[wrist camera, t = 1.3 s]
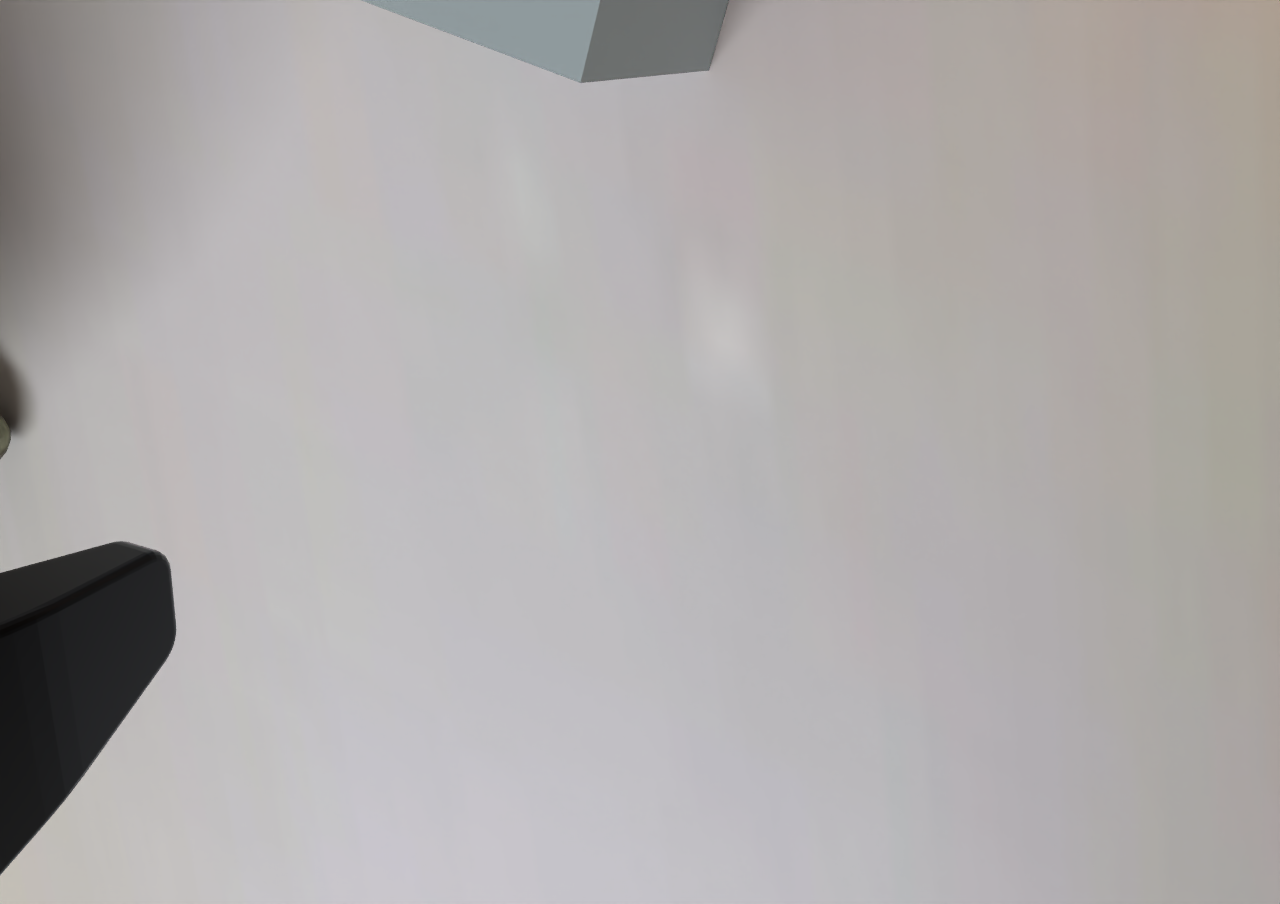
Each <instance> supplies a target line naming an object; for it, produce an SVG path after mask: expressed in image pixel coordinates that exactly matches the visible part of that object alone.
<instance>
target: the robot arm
mask: <svg viewBox="0 0 1280 904" xmlns="http://www.w3.org/2000/svg"><path fill="white" fill-rule="evenodd" d="M175 636H176V619H175V609H174V599H173V588H172V578H171V569H170V564H169V562H168V560H167V558H166V557H165V555H163V554H162V553H160V552H159V551H156V550H153V549H150V548H146V547H143V546H139V545H136V544H133V543H129V542H123V541H120V542H113V543H109V544H105V545H102V546H98V547H94V548H90V549H87V550H83V551H79V552H76V553H72V554H68V555H65V556H61V557H57V558H54V559H50V560H46V561H43V562H39V563H35V564H32V565H28V566H24V567H21V568H17V569H13V570H10V571H6V572H2V573H0V875H1V874H2V872H3V871H4V870H5V869H6V868H7V867H8V866H9V864H10V863H11V862H12V861H13V860H14V859H15V858H16V856H17V855H18V854H19V853H20V852H21V851H22V850H23V848H24V847H25V846H26V845H27V844H28V843H29V842H30V840H31V839H32V838H33V837H34V836H35V835H36V834H37V832H38V831H39V830H40V829H41V828H42V827H43V826H44V824H45V823H46V822H47V821H48V820H49V819H50V817H51V816H52V815H53V814H54V813H55V811H56V810H57V809H58V808H59V807H60V805H61V804H62V803H63V802H64V801H65V799H66V798H67V797H68V795H69V794H70V793H71V791H72V790H73V789H74V788H75V786H76V785H77V784H78V782H79V781H80V780H81V778H82V777H83V776H84V774H85V773H86V772H87V770H88V769H89V767H90V766H91V765H92V763H93V762H94V760H95V759H96V758H97V756H98V755H99V753H100V752H101V751H102V749H103V748H104V746H105V745H106V744H107V742H108V741H109V739H110V738H111V737H112V735H113V734H114V732H115V731H116V730H117V728H118V727H119V725H120V724H121V723H122V721H123V720H124V718H125V717H126V716H127V714H128V713H129V711H130V710H131V709H132V707H133V706H134V704H135V703H136V702H137V700H138V699H139V697H140V696H141V695H142V693H143V692H144V690H145V689H146V688H147V686H148V685H149V683H150V682H151V681H152V679H153V678H154V676H155V675H156V674H157V672H158V671H159V669H160V668H161V667H162V665H163V664H164V662H165V661H166V659H167V658H168V656H169V654H170V652H171V650H172V648H173V645H174V641H175Z"/></svg>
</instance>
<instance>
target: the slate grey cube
mask: <svg viewBox="0 0 1280 904" xmlns="http://www.w3.org/2000/svg"><path fill="white" fill-rule="evenodd" d="M362 1H365V2H367V3H370V4H373V5H375V6H378V7H381V8H383V9H386V10H389V11H391V12H394V13H397V14H399V15H402V16H404V17H407V18H410V19H412V20H415V21H418V22H420V23H423V24H426V25H428V26H431V27H434V28H436V29H439V30H442V31H444V32H447V33H450V34H452V35H455V36H458V37H460V38H463V39H465V40H468V41H471V42H473V43H476V44H479V45H481V46H484V47H487V48H489V49H492V50H495V51H497V52H500V53H503V54H505V55H508V56H511V57H513V58H516V59H519V60H521V61H524V62H526V63H529V64H532V65H534V66H537V67H540V68H542V69H545V70H548V71H550V72H553V73H556V74H558V75H561V76H564V77H566V78H569V79H572V80H574V81H577V82H580V83H584V82H594V81H605V80H615V79H625V78H635V77H646V76H656V75H666V74H677V73H687V72H697V71H707V70H709V68H710V64H711V61H712V57H713V54H714V50H715V47H716V43H717V40H718V36H719V33H720V29H721V26H722V22H723V19H724V15H725V12H726V8H727V5H728V1H729V0H362Z"/></svg>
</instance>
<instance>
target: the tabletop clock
mask: <svg viewBox="0 0 1280 904" xmlns="http://www.w3.org/2000/svg"><path fill="white" fill-rule="evenodd" d="M10 440H11V435H10V429H9V427H8V425H7V423H6V422H5V420H4V419H3V418H2V417H1V416H0V459H1V457H2V456H3V455H4V454H5V453H6V451H7V449H8V446H9V443H10Z"/></svg>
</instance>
